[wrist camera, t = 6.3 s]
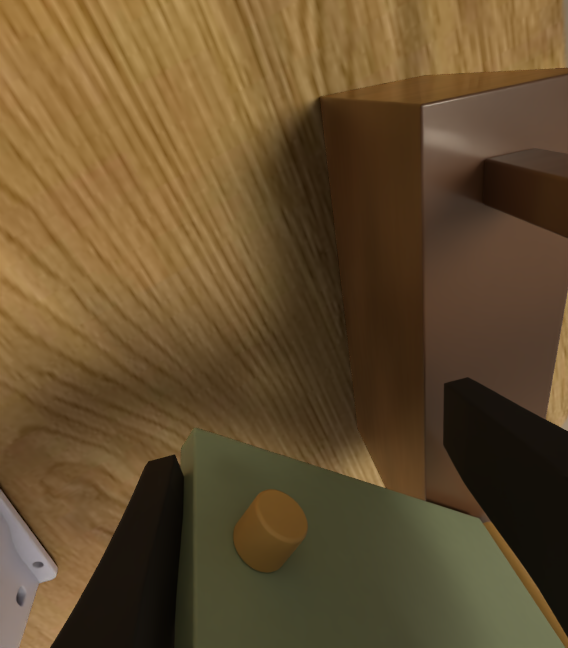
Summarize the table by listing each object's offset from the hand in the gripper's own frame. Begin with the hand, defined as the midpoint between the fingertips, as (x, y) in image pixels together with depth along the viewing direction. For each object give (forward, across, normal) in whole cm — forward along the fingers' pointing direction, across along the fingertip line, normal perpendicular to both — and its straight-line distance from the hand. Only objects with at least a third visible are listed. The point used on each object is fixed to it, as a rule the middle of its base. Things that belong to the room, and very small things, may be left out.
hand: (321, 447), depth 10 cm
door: (+1, -2, +3) cm, 4 cm away
